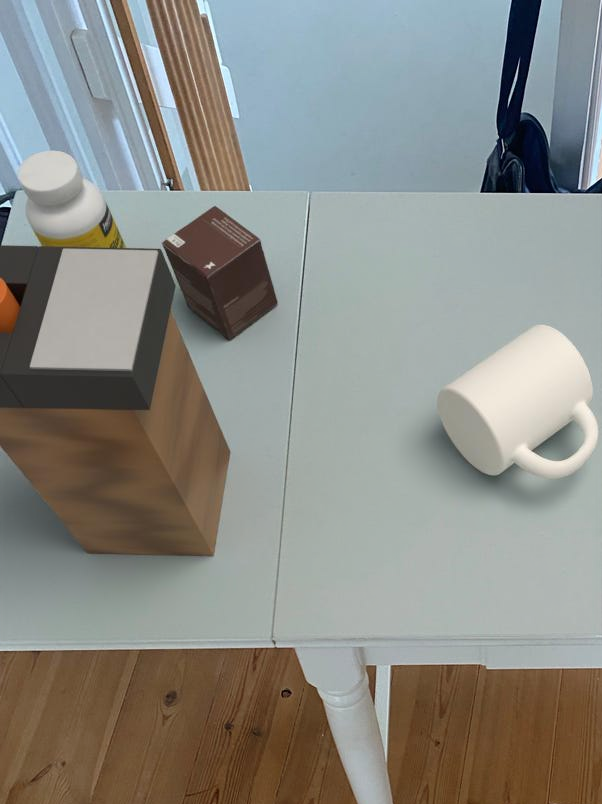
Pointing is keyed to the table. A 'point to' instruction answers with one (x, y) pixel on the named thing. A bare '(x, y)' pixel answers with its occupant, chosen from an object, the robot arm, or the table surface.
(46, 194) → the pill bottle
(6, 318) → the button
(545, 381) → the mug
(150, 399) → the scale
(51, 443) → the block
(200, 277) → the box
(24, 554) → the table surface
